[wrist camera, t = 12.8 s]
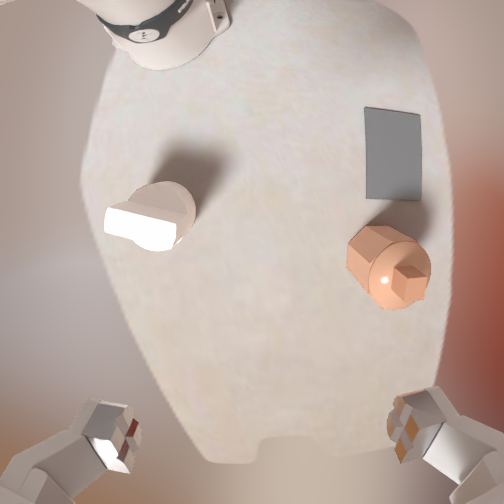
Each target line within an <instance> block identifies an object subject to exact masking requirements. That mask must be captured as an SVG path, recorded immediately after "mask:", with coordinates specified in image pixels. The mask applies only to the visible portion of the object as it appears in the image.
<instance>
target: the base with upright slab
mask: <svg viewBox="0 0 504 504" xmlns="http://www.w3.org/2000/svg"><path fill="white" fill-rule="evenodd" d="M195 218H196V206H195V201H194V199H193V197H192V195H191V194H190V192H189V191H188V190H187V189H186V188H185V187H183V186H182V185H181V184H178V183H176V182H172V181H163V182H158V183H154V184H149V185H145V186H143V187H141V188H139V189H137V190H136V191H135V192H134V193H133V194H132V195H131V196H130V198H129V200H128V201H125V202H122V203H119V204H116V205H113V206H111V207H108V209H107V211H106V215H105V219H104V229H105V232H106V233H110V234H114V235H117V236H121V237H125V238H129V239H132V240H134V242H136V243H137V244H138V245H140V246H141V247H143V248H145V249H148V250H151V251H163V250H167V249H172V248H173V247H174V245H176V244H177V243H178V242H179V241H180V240H181V239H182V238H183V237H184V236H185V235H186V234H187V232H188V231H189V230H190V228H191V227H192V226H193V223H194V221H195Z"/></svg>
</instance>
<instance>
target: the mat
mask: <svg viewBox="0 0 504 504" xmlns="http://www.w3.org/2000/svg"><path fill="white" fill-rule="evenodd" d="M364 114H365V135H366V199H393V200H421V181H422V147H421V123H420V115H414V114H408V113H401V112H395V111H388V110H380V109H371V108H364Z"/></svg>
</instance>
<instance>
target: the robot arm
mask: <svg viewBox="0 0 504 504" xmlns="http://www.w3.org/2000/svg"><path fill="white" fill-rule="evenodd" d="M11 1H15V0H0V6H1V5H3V4H5V3H8V2H11ZM76 1H78V2H80V3H82V4H83V5H85V6H87V7H88V8H89V9H91V10H92V11H93V12H95V13H96V15H97V17H98V19H99V20H100V21H101V23H102V24H103V25H104V28H105V29H106V30H107V32H108V33H109V34H110V35H111V36H112V37H113V41H112V43H113V45H114V46H115V47H116V48H117V49H120V50H122V51H125V52H127V53H128V54H129V56H130V57H131V58H132V60H133V61H134V62H136V63H137V64H138V65H140V66H142V67H145V68H148V69H153V70H166V69H171V68H175V67H178V66H181V65H183V64H186V63H188V62H189V61H191V60H193V59H194V58H196V57H197V56H198V55H199V54H200V53H202V52H203V51H204V49H205V48H206V47H207V46H208V44H209V43H210V42H211V41H212V39H213V38H214V37H215V36H217V35H219V34H221V33H222V32H224V31H225V30H227V29H228V28H229V26H230V20H229V17H228V13H227V10H226V7H225V3H224V0H76ZM218 17H223V18H222V19H218ZM393 406H394V409H393V410H392V411H391V412H390V413H389V415H388V418H387V432H388V435H389V438H390V439H391V440H392V441H394V442H396V446H395V449H394V450H395V452H396V454H397V457H398V459H399V461H400V463H405V462H409V461H412V460H415V459H419V458H422V457H423V459H424V460H426V461H427V462H428V463H430V464H431V465H433V466H434V467H435V468H437V469H438V470H439V471H441V472H442V473H444V474H445V475H447V476H448V477H449V478H451V479H452V480H454V481H455V482H456V483H458V484H459V486H458V487H457V488H456V489H455V490H454V492H452V494H451V495H450V501H451V503H452V504H504V433H502V432H500V431H497V430H495V429H493V428H490V427H488V426H486V425H484V424H481V423H479V422H477V421H475V420H473V419H470V418H468V417H466V416H464V415H463V416H460V415H459V414H458V413H457V411H456V410H455V408H454V407H453V405H452V404H451V402H450V401H449V400H448V398H447V397H446V395H445V394H444V392H443V391H442V390H441V388H440V387H438V386H434V387H430V388H426V389H423V390H418V391H414V392H410V393H406V394H402V395H398V396H397V397H396V398H395V399H394V402H393ZM134 414H135V413H134V411H133V408H132V407H131V406H129V405H123V404H117V403H112V402H107V401H101V400H97V399H92V398H89V399H87V400H85V402H84V404H83V405H82V407H81V409H80V410H79V412H78V414H77V415H76V417H75V419H74V420H73V422H72V424H71V425H70V427H69V429H68V430H67V431H66V430H63V431H61V432H59V433H57V434H55V435H54V436H52V437H50V438H48V439H46V440H44V441H42V442H40V443H38V444H36V445H34V446H32V447H30V448H28V449H27V450H25V451H23V452H21V453H19V454H17V455H15V456H13V458H12V459H11V461H10V463H9V464H8V466H7V468H6V469H5V471H4V473H3V474H2V476H1V478H0V504H76V503H75V502H74V501H73V500H72V498H74V497H75V496H76V495H77V494H78V493H80V492H81V491H82V490H84V489H85V488H86V487H87V486H89V485H90V484H91V483H92V482H94V481H95V480H96V479H97V478H98V477H100V476H101V475H102V474H103V473H104V472H106V471H107V469H110V470H114V471H119V472H125V473H129V474H130V473H131V471H132V468H133V465H134V462H135V456H134V454H133V452H135V451H136V450H137V449H139V447H140V444H141V438H142V432H141V427H140V424H139V422H137V421H136V420H135V419H134V418H133V417H134Z"/></svg>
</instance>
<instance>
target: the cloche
mask: <svg viewBox="0 0 504 504" xmlns="http://www.w3.org/2000/svg"><path fill="white" fill-rule="evenodd" d="M346 268H347V269H348V270H349V271H350V272H351V274H352V275H353V276H354V277H355V278H356V280H357V281H358V282H359V283H360V284H361V285H362V287H363V288H364V289H365V290H366V291H367V293H368V294H369V295H370V296H371V297H372V298H373V299H374V301H375V302H376V303H377V304H378V305H379V306H380V307H381V308H382V309H388V310H399V309H403V308H406V307H408V306H410V305H411V304H413V303H414V302H415V301H416V300H424V295H425V289H426V287H427V285H428V282H429V279H430V275H431V264H430V259H429V257H428V254H427V253H426V251H425V250H424V249H423V248H422V247H421V246H420V245H419V244H418V242H417V241H416V240H414V239H412V238H410V237H408V236H406V235H405V234H403V233H401V232H399V231H397V230H395V229H393V228H391V227H389V226H387V225H383V226H364V227H363V228H362V230H361V231H360V232H359V233H358V234H357V235H356V236H355V237H354V238H353V239H352V240H351V241H350V242H349V243H348V250H347V266H346Z"/></svg>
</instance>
